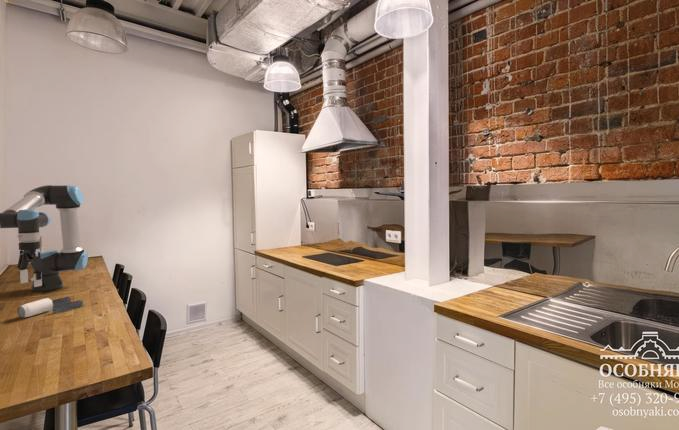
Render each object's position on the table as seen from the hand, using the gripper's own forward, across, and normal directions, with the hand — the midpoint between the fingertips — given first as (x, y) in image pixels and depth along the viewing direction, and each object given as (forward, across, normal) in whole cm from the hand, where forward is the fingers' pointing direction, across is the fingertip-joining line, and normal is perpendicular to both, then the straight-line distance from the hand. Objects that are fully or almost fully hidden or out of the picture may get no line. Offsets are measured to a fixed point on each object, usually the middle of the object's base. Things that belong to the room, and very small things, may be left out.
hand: (31, 284), depth 162 cm
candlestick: (+15, -78, +36) cm, 88 cm away
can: (+12, -2, +8) cm, 14 cm away
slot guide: (+15, 0, +12) cm, 20 cm away
